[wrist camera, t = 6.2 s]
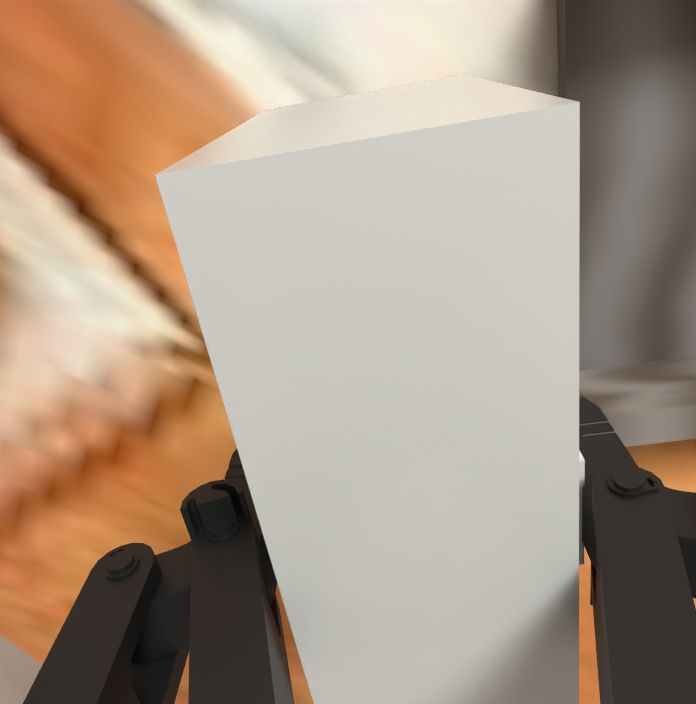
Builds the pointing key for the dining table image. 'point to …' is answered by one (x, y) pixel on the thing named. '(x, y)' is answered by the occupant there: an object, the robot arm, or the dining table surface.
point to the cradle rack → (635, 209)
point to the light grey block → (403, 378)
